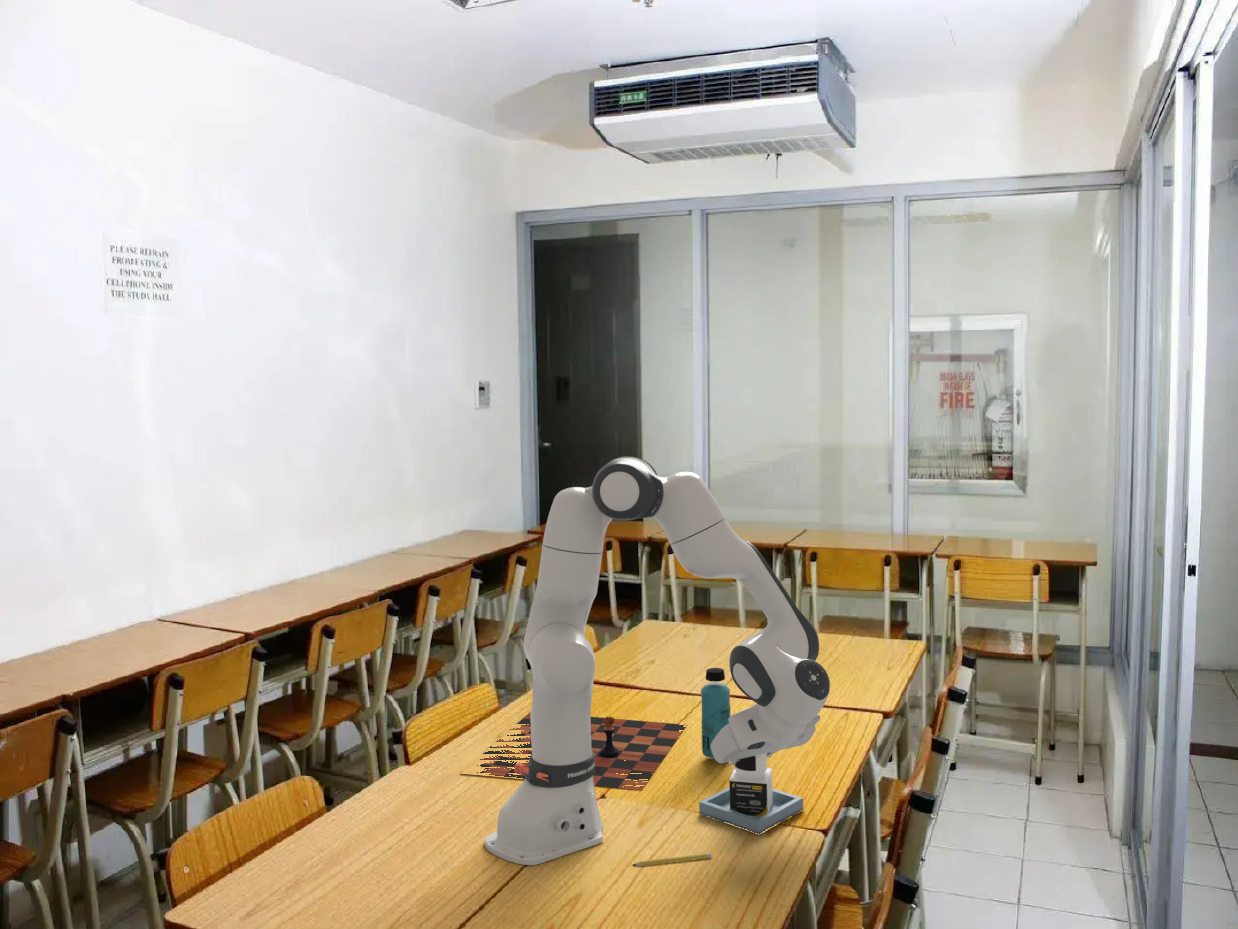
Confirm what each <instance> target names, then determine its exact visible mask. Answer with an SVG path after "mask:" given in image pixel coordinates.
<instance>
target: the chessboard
mask: <svg viewBox="0 0 1238 929" xmlns="http://www.w3.org/2000/svg"><path fill="white" fill-rule="evenodd" d="M530 714H531V711H529V712H528V714H526V715H525V716H524V717H523V718H521V719H520V720H519V721H518V722H517V723H516V724H526V725H521V727H520V728H516V729H515V728H513V729H511V728H510V729H509V730H524V731H521V734H517V735H515V734H514V735H510V736H530V737H529V738H528V737H526V738H522V739H521V738H519V740H518V739H516V740H514V739H513V740H512V741H511V740H509V741H504V740H503V739H502V740H501V739H499V738H498V739H499V740H498V739H497V740H496V741H495V742H530V744H528V743H527V745H526V744H523V745H524V746H522V745H521V744H520V746H521V747H520V746H518V745H517V746H518V747H514V746H509V745H507V744H506V746H504V745H503V747H502V746H500V747H499V746H497V747H492V746H491V745H490V746H489V747H488V748H532V743H531V718H530ZM527 724H529V725H527ZM679 724H680V723H670V722H669V723H668V722H658V721H647V720H646V721H645V720H635V719H624V718H623V719H621V718H615V717H614V716H609V717H608V716H605V717H599V716H591V748H592V751H593V753H594V762H595V773H594V775H593V781H594V786H597V787H596V788H604V787H607V788H606V789H615V788H616V789H617V790H626V789H627V790H629V791H638V790H639V791H638V792H641V791H644V789H645V787H646V786H647V784H648V782H650V780H651V779H652V778H653V775H654V774H655V773H656V772H657V770H658V768H659V767H660V766H661V764H662V763H663V761H664V760H665V759H666V757H667V756H668V754H669V752H671V750H672V749H673V747H674V745H675V744H676V742H677V741H678V740H679V738H680V737H681V736H682V734H683V732H684V731H685V729H686V728H687V727H683V726H684V725H685V724H684V725H679ZM679 730H684V731H681V732H679ZM507 736H509V735H507ZM678 736H680V737H678ZM501 751H502V752H503V750H501ZM504 751H505V752H506V753H505V752H503V753H502V752H500V751H495V752H494V751H488V752H485V753H483V752H482V753H483V754H521V753H522V754H532V750H531V751H530V750H526V751H525V750H522V751H523V752H522V751H520V750H519V751H520V752H521V753H519V752H518V753H515V752H512V751H509V750H507V751H506V750H504ZM497 756H498V755H497ZM497 756H495V757H496V758H495V757H493V756H492V757H493V758H491V757H490V756H489V757H490V758H484V759H480V760H505V761H506V760H529V759H530V758H527V757H526V758H520V757H517V758H516V757H515V756H512V757H513V758H512V757H510V756H509V755H508V756H509V757H510V758H509V757H503V756H498V757H497ZM528 757H530V756H528ZM624 760H626V761H624ZM490 762H491V761H490ZM493 762H494V763H492V762H491V763H484V764H481V765H480V766H481V767H497V768H485V769H487V770H486V771H482V772H480V773H491V774H489V775H495V776H504V777H516V776H517V777H516V778H523V779H525V775H524V776H522V775H513V774H508V773H516V772H514V771H515V770H514V769H512V768H507V767H515V766H516V763H517V762H515V763H514V761H513V762H512V761H510V762H512V763H508V761H507V762H502V761H493ZM526 762H528V761H526ZM513 763H514V764H513ZM522 764H525V765H527V766H528V763H522ZM477 766H478V765H477ZM498 767H500V768H498ZM504 768H505V769H504ZM485 769H484V770H485ZM489 769H490V770H489ZM510 769H511V770H510ZM477 773H478V772H477ZM616 773H618V774H616ZM623 773H624V774H628V775H620V774H623ZM630 773H642V774H630ZM652 773H654V774H652ZM509 775H511V776H509ZM625 779H631V780H625ZM639 779H648V780H639ZM633 780H638V781H633ZM642 781H648V782H642ZM635 782H638V783H635ZM625 785H633V786H625ZM636 785H646V786H640V787H634V786H636ZM623 786H624V787H623ZM643 788H644V789H643ZM627 790H626V791H627Z"/></svg>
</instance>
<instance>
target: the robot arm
mask: <svg viewBox="0 0 1238 929" xmlns="http://www.w3.org/2000/svg"><path fill="white" fill-rule="evenodd" d="M552 501H553V502H552V504H551V506H550V510H549V512H548V516H547V520H546V523H545V524H546V525H545V529H544V534H543V540H542V545H541V554H540V560H539V561H540V562H539V569H538V575H537V580H536V581H537V583H536V587H535V592H534V596H533V599H532V603H531V606H530V612H529V615H528V619H527V624H526V629H525V632H524V633H525V634H524V638H523V652H524V655H525V657H526V658H527V661H528V663H529V665H530V667H531V668H530V669H531V671H532V672H531V673H532V697H531V698H532V699H531V711H530V712H531V714H530V718H531V743H532V754H531V756H530V759H529V762H528V766H527V765H525V764H522V763H520V762H519V763H517V764H516V766H515V767H514V768H515V769H514V770H515V771H514V772H516V773H517V774H521V775H522V776H524V775H525V780H522V783H521V784H520V785H519V786H518V787H517V788H516V790H515V791H514V792H513V793H512V795H511V796H510V797H509V799H508V800H507V801H506V802H505V804H504V805H503V806H502V807H501V808H500V810H499V812H498V816H497V823H496V825H497V826H496V830H495V831H494V832H492V833H490V834H489V835H487V836H486V837H485V838H484V846H485V849H487V851H489V852H490V853H491V852H492V853H491V854H493V855H495V856H496V857H499V858H500V859H504V860H506V861H509V862H511V863H514V864H518V865H524V866H525V865H526V866H536V865H539V864H542V863H546V862H549V861H551V860H555V859H557V858H560V857H563V856H565V855H569V854H573V853H575V852H579V851H581V850H584V849H586V848H590V847H592V846H596V845H599V844H601V843H603V840H604V838H603V834H602V832H603V829H604V824H603V821H602V818H601V814H600V811H599V806H598V801H597V797H596V796H597V795H596V788H595V787H594V781H593V775H594V773H595V762H594V753H593V751H592V748H591V717H592V716H591V713H592V712H591V711H592V708H591V707H592V700H593V692H594V691H593V690H594V677H595V676H594V675H595V673H596V672H595V671H596V658H595V657H596V656H595V652H594V649H593V647H592V645H591V643H590V642H589V640H588V639H587V638H586V626H587V622H588V618H589V615H590V612H591V608H592V607H593V606H592V605H593V603H594V600H595V599H596V596H597V594H598V587H599V581H600V573H601V565H602V560H603V552H604V544H605V537H606V533H607V529H608V526H609V525H610V523H611V522H612V521H613V520H614V521H619V522H621V521H622V522H624V521H625V522H626V521H633V520H640V519H646V518H647V519H648V518H654V520H656V521H657V522H658V524H659V525H660V527H661V529H662V530H663V532H664V534H665V537H666V539H667V540H668V543H669V545H670V547H671V549H672V552H673V553H674V556H675V558H676V559H677V561H678V563H679V564H680V565H681V567H682V568H683V569H684V570H685V572H688V573H689V574H691V575H693V576H694V577H695V576H696V577H698V578H703V579H711V580H712V579H726V578H728V579H734V580H737V581H739V582H741V584H743V585H744V586H745V587H746V588H747V590H748V591H749V593H750V594H751V596H752V597H753V599H754V600H755V602H756V603H757V604H758V606H759V608H760V609H761V611H762V612H763V613H764V615H765V617H766V619H767V625H766V627H764V628H763V629H761V630H759V631H758V632H756V633H755V634H753V635H751V636H749V637H748V638H746V639H745V640H743V641H742V642H741V643H739V644H738V645H736V646H735V647H733V648H732V650H731V652H730V655H729V672H730V674H731V678H732V681H733V683H734V684H735V685H736V687H737V688H738V689H739V690H740V691H741V692H742V694H744V695H745V697H747V698H748V699H749V700H752V701H753V702H754V705H752V706H750V707H747V708H745V709H743V710H739V711H737V712H735V713H733V714H730V715H731V716H730V717H729V719H728V721H729V724H728V725H726V726H725V727H723V728H722V729H721V730H720V732H719V733H718V734H717V736H716V737H715V738H714V740H713V741H712V743H711V751H712V753H713V756H714V758H713V759H714V760H715V762H717V763H718V764H724V763H727V762H728V763H729V766H735V765H736V764H738V763H739V762H740V759H742V758H747V757H751V756H756V755H760V754H765V753H767V759H768V758H771V757H772V756H773V755H774V754H776V753H777V752H779V751H783V750H786V749H791V748H795V747H801V746H803V745H805V744H807V743H808V742H809V741H810V740H811V739H812V737H813V736H814V733H815V732H816V730H817V729H816V728H817V727H816V725H817V724H818V723H819V721H820V720H821V715H820V714H819V713H820V711H821V710H823V707H824V705H825V703H826V702H827V700H828V698H829V695H830V692H831V682H830V681H831V680H830V677H829V674H828V672H827V671H826V669H825V668H824V666H823V665H821V664H820V663H819V662H818V661H816V660H817V658H818V656H819V653H820V638H819V635H818V632H817V629H816V628H815V627H814V624H812V623H811V622H810V620H809V619H808V618H807V617H806V616H805V615H804V614H803V613H802V612H801V610H800V609H799V608H798V606H797V605H796V604H795V602H794V600H793V599H792V598H791V597H790V594H788V593H789V592H787V590H786V588H785V587H784V586H783V584H782V583H781V581H780V579H779V578H778V576H776V573H775V572H774V570H773V569H772V568H771V566H770V564H769V563H768V561H767V560H766V558H765V557H764V556H763V555H762V553H761V552H760V551H759V550H758V548H757V547H756V546H755V545H754V544H753V543H751V542H749V541H747V540H743V539H742V538H741V537H740V536H739V535H738V534H737V533H736V532H735V531H734V529H733V528H732V526H731V525H730V523H729V521H728V520H727V518H726V516H725V514H724V512H723V509H722V508H721V507H720V505H719V503H718V501H717V500H716V497H714V494H713V493H712V491H711V490H710V489H709V487H708V485H707V484H706V483H705V482H704V481H703V479H702V478H701V477H700V475H698V474H697V473H695V472H692V471H677V472H674V473H672V474H670V475H667V476H659V475H658V474H657V472H656V470H655V468H654V467H653V466H652V465H651V464H650V463H649V462H648V461H646V460H645V459H642V458H639V457H635V456H621V457H618V458H617V457H616V458H614V459H612V460H610V461H609V462H608V463H606V464H605V465H603V466H602V467H601V468H599V470H598V471H597V473H596V475H594V478H593V481H592V485H591V486H589V487H581V486H580V487H579V486H573V487H567V488H565V489H562V490H560V491H559V492H558V493H556V495H555V496H554V498H553V500H552Z"/></svg>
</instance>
